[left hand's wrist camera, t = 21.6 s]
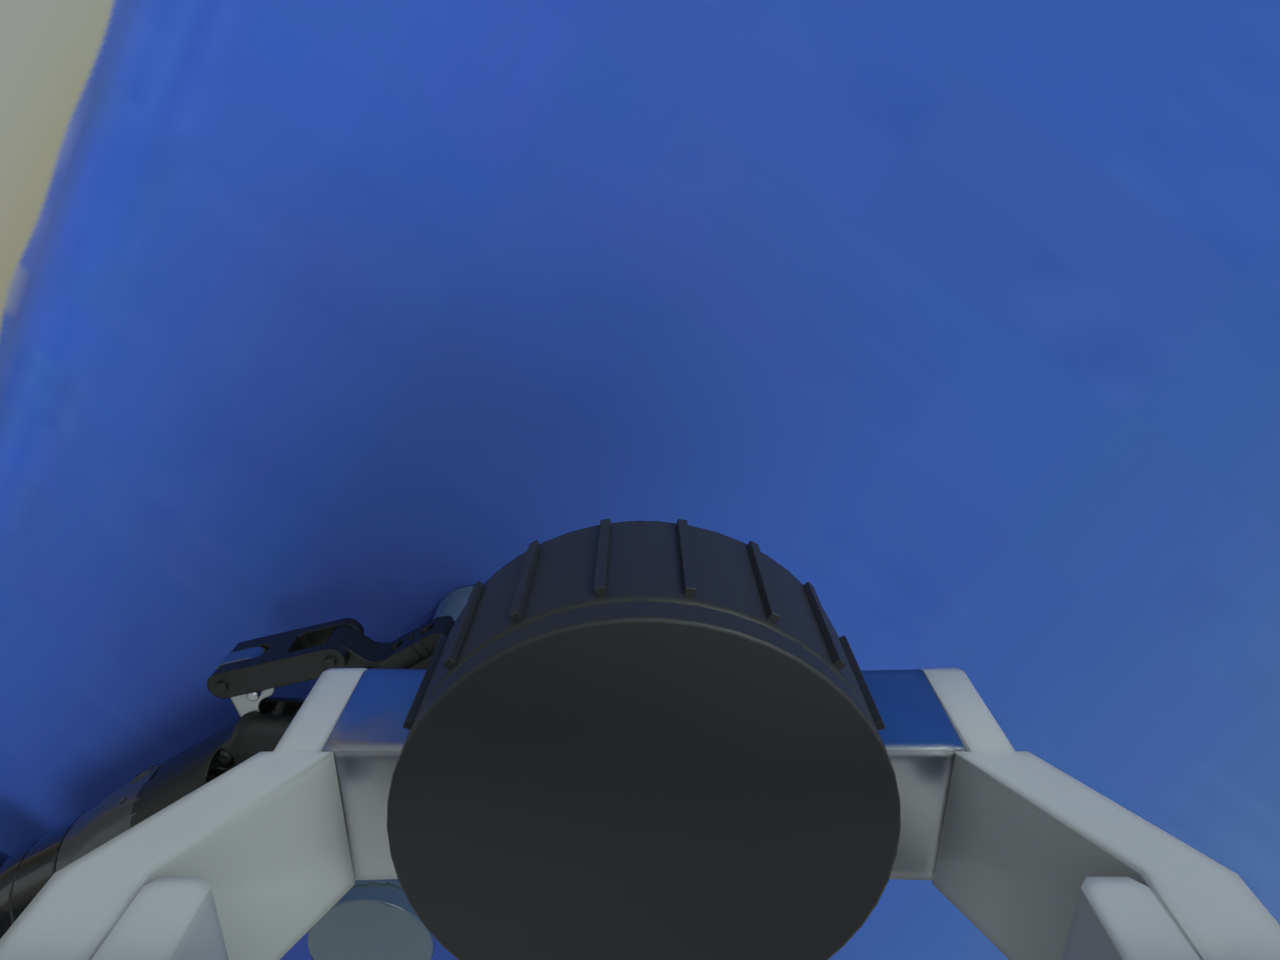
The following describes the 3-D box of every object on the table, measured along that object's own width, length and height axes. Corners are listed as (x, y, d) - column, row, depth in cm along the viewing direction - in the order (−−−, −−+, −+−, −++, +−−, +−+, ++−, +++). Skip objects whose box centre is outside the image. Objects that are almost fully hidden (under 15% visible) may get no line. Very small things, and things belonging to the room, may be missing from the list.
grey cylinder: (426, 590, 41) (278, 901, 24) (511, 580, 41) (425, 885, 24) (444, 664, 43) (318, 1005, 25) (527, 654, 42) (456, 991, 25)
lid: (894, 809, 11) (955, 962, 9) (525, 906, 12) (499, 1072, 9) (792, 454, 9) (838, 540, 7) (361, 589, 10) (283, 706, 8)
